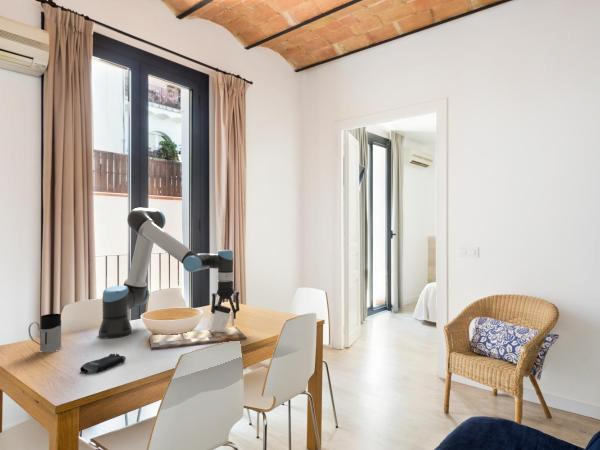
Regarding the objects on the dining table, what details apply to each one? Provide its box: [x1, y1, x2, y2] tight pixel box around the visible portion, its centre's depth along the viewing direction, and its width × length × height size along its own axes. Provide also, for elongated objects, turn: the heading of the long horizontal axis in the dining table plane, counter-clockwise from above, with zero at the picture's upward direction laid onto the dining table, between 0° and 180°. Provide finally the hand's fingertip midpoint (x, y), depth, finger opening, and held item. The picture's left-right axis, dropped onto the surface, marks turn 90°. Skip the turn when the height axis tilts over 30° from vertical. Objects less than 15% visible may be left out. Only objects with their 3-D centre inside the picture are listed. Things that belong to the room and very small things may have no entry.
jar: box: [207, 303, 232, 332], centre depth 199 cm, size 9×8×12 cm
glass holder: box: [28, 313, 63, 353], centre depth 171 cm, size 9×14×15 cm, turn 160°
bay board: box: [149, 326, 248, 351], centre depth 191 cm, size 43×20×1 cm, turn 113°
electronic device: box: [79, 353, 127, 375], centre depth 152 cm, size 9×6×15 cm
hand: (225, 326), depth 199 cm, fingers open, 7 cm apart
